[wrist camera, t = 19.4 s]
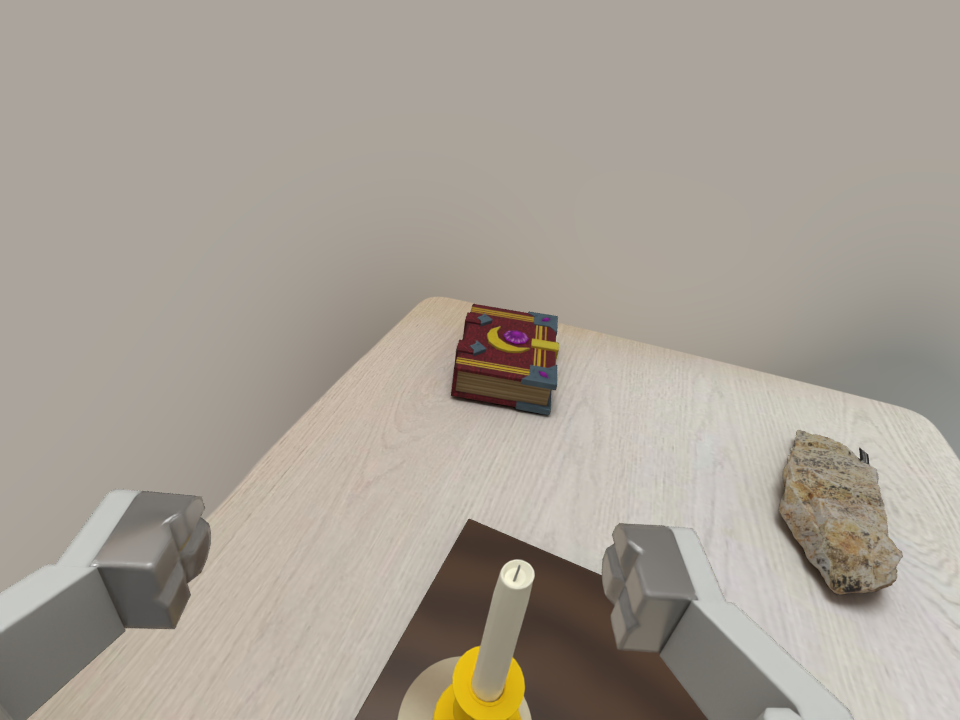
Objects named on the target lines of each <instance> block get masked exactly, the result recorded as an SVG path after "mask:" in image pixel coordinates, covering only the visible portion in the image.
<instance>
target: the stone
mask: <svg viewBox="0 0 960 720" xmlns="http://www.w3.org/2000/svg"><path fill="white" fill-rule="evenodd" d="M790 451H791V455H788V457H787V465H786V466H785V467H784V470H783V482H784V487H785V492H784V495H783V498H782V499H781V502H780V506H779V511H780V513H781V515H782V517H783V519H784V520H785V521H786V523H787V524H788V527H789V528H790V530H791V531H792V533H793V536H794V538H795V539H797V541H798V542H799V544H800V545H801V546H802V547H803V549H804V551H805V554H806V557H807V558H808V560H809V561H810V562H811V563H812V564H813V565H814V566H815V567H816V568H817V569H819V571H820V572H821V576H823V578H824V579H825V582H826V583H827V585H828V586H829V588H830V589H831V590H832V591H833V592H834V593H837V594H840V595H843V594H847V593H860V592H861V593H867V592H875V591H878V590H879V589H883V588H886V587H888V586H891V585H892V583H893V582H895V581H896V579H897V574H896V573H897V569H896V568H897V567H896V566H897V565H898V563H899V561H900V559H901V558H902V557H903V555H902V552H901V551H900V550H899V549H897V547H896V545H895V544H894V543H893V541H892V540H891V539H890V538H889V537H888V525H887V517H886V513H885V509H884V503H883V500H882V498H881V493H880V487H879V485H878V479H879V478H878V473H877V470H876V468H874V467H872V466H870V465H869V458H868V454H867V453H866V452H864V451H863V450H862V449H861V448H859V451H860V459H859V458H858V457H857V456H856V455H855V454H854V453H853V452H852V451H851V450H850V449H849V448H847V447H846V446H845V445H843V444H842V443H840V442H836V441H834V440H832V439H830V438H828V437H823V436H821V435H816V434H813V435H812V434H809V433H807V432H805V431H801V430H797V432H796V438H795V447H794V448H791V449H790Z"/></svg>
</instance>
